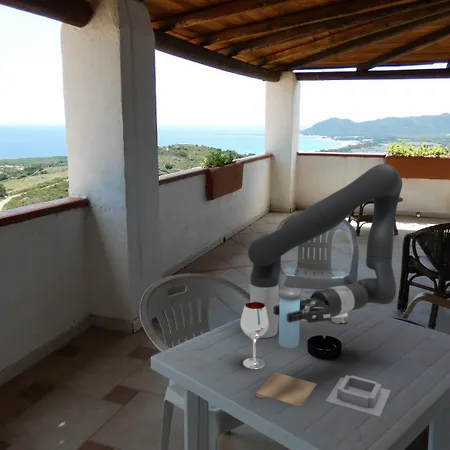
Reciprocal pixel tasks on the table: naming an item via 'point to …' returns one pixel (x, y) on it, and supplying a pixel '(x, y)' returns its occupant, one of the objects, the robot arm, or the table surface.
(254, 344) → the wineglass
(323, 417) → the table surface
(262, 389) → the light brown wooden board
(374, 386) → the cartridge housing
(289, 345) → the filter cartridge
